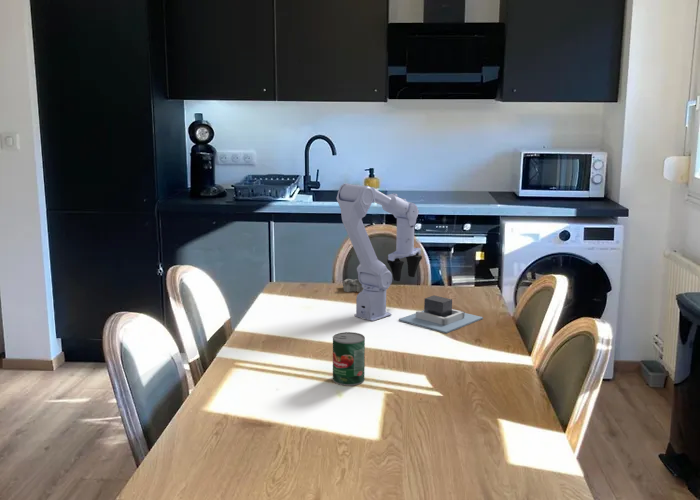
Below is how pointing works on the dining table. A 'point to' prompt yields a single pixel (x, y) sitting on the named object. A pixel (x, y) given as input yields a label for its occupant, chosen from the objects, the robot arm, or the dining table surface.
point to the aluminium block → (438, 306)
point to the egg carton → (352, 285)
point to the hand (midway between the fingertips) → (404, 278)
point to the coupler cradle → (441, 320)
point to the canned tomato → (348, 358)
